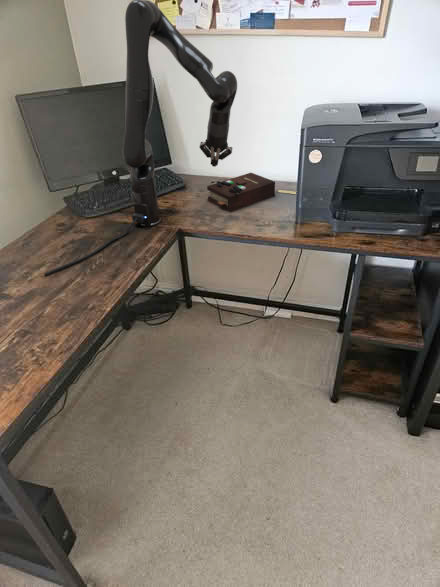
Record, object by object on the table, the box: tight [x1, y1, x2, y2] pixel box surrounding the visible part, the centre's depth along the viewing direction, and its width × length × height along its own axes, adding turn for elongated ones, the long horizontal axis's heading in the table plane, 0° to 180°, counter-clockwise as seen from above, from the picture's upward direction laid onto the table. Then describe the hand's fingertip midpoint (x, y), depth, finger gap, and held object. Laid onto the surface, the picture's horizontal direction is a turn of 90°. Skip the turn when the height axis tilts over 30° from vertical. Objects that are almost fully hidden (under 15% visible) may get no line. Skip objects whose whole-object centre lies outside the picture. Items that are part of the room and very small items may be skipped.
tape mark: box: [277, 189, 297, 195], centre depth 184 cm, size 2×9×1 cm, turn 64°
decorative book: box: [206, 172, 276, 213], centre depth 179 cm, size 19×8×30 cm
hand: (214, 165), depth 159 cm, fingers closed
